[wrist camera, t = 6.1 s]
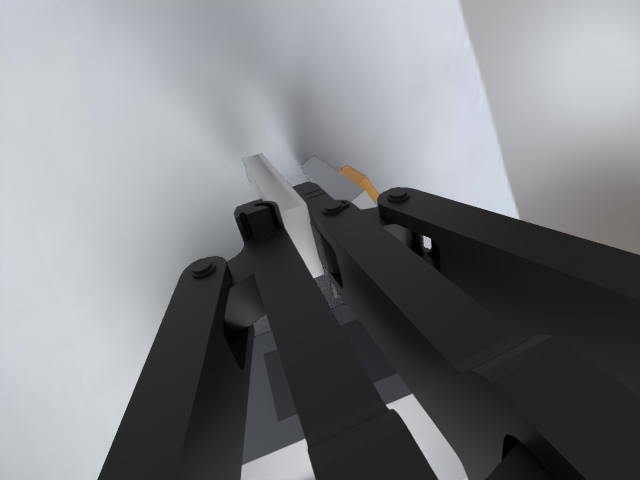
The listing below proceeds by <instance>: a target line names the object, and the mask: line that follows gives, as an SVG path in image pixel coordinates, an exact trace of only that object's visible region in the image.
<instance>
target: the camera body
mask: <svg viewBox="0 0 640 480" xmlns="http://www.w3.org/2000/svg"><path fill="white" fill-rule="evenodd" d="M331 310H332V312H333V313H334V315H335V317H336V319H337V320H338V322H339V324H340V326H341V327H342V329H343V331H344V333H345V335H346V336H347V338H348V340H349V342H350V343H351V345H352V347H353V349H354V350H355V352H356V354H357V356H358V357H359V359H360V361H361V363H362V365H363V366H364V368H365V370H366V372H367V373H368V375H369V377H370V379H371V380H372V382H373V384H374V386H375V387H376V389H377V391H378V393H379V394H380V396H381V398H382V400H383V401H384V403H385V405H386V406H387V407H388V408H389V409H394V410H395V411H396V412H397V413H398V414H399V415H400V416H401V418H402V419H403V421H404V423H405V424H406V426H407V427H408V429H409V431H410V432H411V434H412V436H413V437H414V439H415V441H416V442H417V444H418V446H419V447H420V449H421V451H422V452H423V454H424V456H425V458H426V459H427V461H428V463H429V464H430V466H431V468H432V469H433V471H434V473H435V474H436V476H437V478H438V479H439V480H463V479H465V478H467V475H466V472H465V470H464V467H463V465H462V463H461V461H460V459H459V458H458V456H457V455H456V453H455V452H454V450H453V449H452V447H451V446H450V445H449V443H448V442H447V441H446V439H445V438H444V436H443V435H442V434H441V432H440V431H439V430H438V428H437V427H436V425H435V424H434V423H433V421H432V420H431V419H430V417H429V416H428V414H427V413H426V412H425V410H424V409H423V408H422V406H421V405H420V403H419V402H418V401H417V399H416V398H415V397H414V395H413V394H412V392H411V391H410V390H409V388H408V387H407V386H406V384H405V383H404V381H403V380H402V379H401V377H400V376H399V375H398V373H397V372H396V370H395V369H394V368H393V366H392V365H391V364H390V362H389V361H388V359H387V358H386V357H385V355H384V354H383V353H382V351H381V350H380V348H379V347H378V346H377V344H376V343H375V342H374V340H373V339H372V337H371V336H370V335H369V333H368V332H367V331H366V329H365V328H364V326H363V325H362V324H361V322H360V321H359V320H358V318H357V317H356V315H355V314H354V313H353V311H352V310H351V309H350V307H349V306H348V304H345V305H342V306H339V307H336V308H334V309H331ZM307 448H308V446H307V442H306V439H305V436H304V433H303V429H302V426H301V423H300V420H299V417H298V413H297V410H296V407H295V404H294V401H293V397H292V394H291V391H290V388H289V385H288V381H287V378H286V375H285V372H284V369H283V365H282V362H281V359H280V356H279V353H278V349H277V346H276V343H275V340H274V337H273V333H272V331H270V332H267V333H264V334H261V335H259V336H256V337H254V342H253V352H252V363H251V374H250V384H249V395H248V406H247V416H246V427H245V438H244V448H243V459H242V470H241V480H316V479H315V476H314V472H313V469H312V466H311V462H310V459H309V455H308V451H307Z"/></svg>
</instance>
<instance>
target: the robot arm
mask: <svg viewBox="0 0 640 480" xmlns="http://www.w3.org/2000/svg"><path fill="white" fill-rule="evenodd" d="M242 161H243V164H244V167H245V170H246V173H247V176H248V179H249V182H250V185H251V188H252V191H253V194H254V197H255V201H252V202H249V203H247V204H244V205H241V206H238V207H237V208H236V210H235V212H234V216H235V220H236V222H237V225H238V228H239V230H240V233H241V236H242V238H243V241H244V248H243V249H242V251H241V252H240V253H239V254H238V255H237V256H236V257H234V258H233V259H231V260H230V261H228V262H226V260H225V259H224V258H222V257H218V256H212V257H206V258H203V259H199V260H197V261H195V262H193V263H192V264H191V265H190V266H188V267H187V268H186V269H185V270H184V271H183V273H182V274H181V276H180V278H179V281H178V283H177V286H176V288H175V291H174V293H173V296H172V298H171V301H170V303H169V305H168V308H167V310H166V313H165V315H164V318H163V320H162V323H161V325H160V327H159V330H158V332H157V335H156V337H155V340H154V342H153V345H152V347H151V350H150V352H149V354H148V357H147V359H146V362H145V364H144V367H143V369H142V372H141V374H140V377H139V379H138V381H137V384H136V386H135V389H134V391H133V394H132V396H131V399H130V401H129V403H128V406H127V408H126V411H125V413H124V416H123V418H122V421H121V423H120V426H119V428H118V430H117V433H116V435H115V438H114V440H113V443H112V445H111V448H110V450H109V453H108V455H107V457H106V460H105V462H104V465H103V467H102V470H101V472H100V475H99V477H98V479H97V480H241V470H242V459H243V448H244V438H245V427H246V416H247V406H248V395H249V384H250V374H251V363H252V352H253V342H254V326H253V323H254V322H255V321H257V320H258V319H260V318H261V317H263V316H264V315H265V314H267V317H268V321H269V324H270V327H271V330H272V333H273V337H274V340H275V343H276V346H277V349H278V353H279V356H280V359H281V362H282V365H283V369H284V372H285V375H286V378H287V381H288V385H289V388H290V391H291V394H292V397H293V401H294V404H295V407H296V410H297V413H298V417H299V420H300V423H301V426H302V429H303V433H304V436H305V439H306V442H307V446H308V448H307V451H308V455H309V459H310V462H311V466H312V469H313V472H314V476H315V479H316V480H439V479H438V478H437V476H436V474H435V473H434V471H433V469H432V468H431V466H430V464H429V463H428V461H427V459H426V458H425V456H424V454H423V452H422V451H421V449H420V447H419V446H418V444H417V442H416V441H415V439H414V437H413V436H412V434H411V432H410V431H409V429H408V427H407V426H406V424H405V423H404V421H403V419H402V418H401V416H400V415H399V414H398V413H397V412H396V411H395V410H394V409H389V408H388V407H387V406H386V405H385V403H384V401H383V400H382V398H381V396H380V394H379V393H378V391H377V389H376V387H375V386H374V384H373V382H372V380H371V379H370V377H369V375H368V373H367V372H366V370H365V368H364V366H363V365H362V363H361V361H360V359H359V357H358V356H357V354H356V352H355V350H354V349H353V347H352V345H351V343H350V342H349V340H348V338H347V336H346V335H345V333H344V331H343V329H342V327H341V326H340V324H339V322H338V320H337V319H336V317H335V315H334V313H333V312H332V310H331V308H330V306H329V305H328V303H327V301H326V299H325V298H324V296H323V294H322V292H321V290H320V289H319V287H318V285H317V283H316V282H315V280H314V278H316V277H318V276H321V275H323V274H324V271H323V267H322V263H323V265H324V266H325V268H326V269H327V270H328V274H329V278H330V282H331V286H332V290H333V294H334V297H335V298H338V296H337V291H338V292H339V293H340V295H341V296H342V298H343V299H344V300H345V302H346V303H347V304H348V306H349V307H350V309H351V310H352V311H353V313H354V314H355V315H356V317H357V318H358V320H359V321H360V322H361V324H362V325H363V326H364V328H365V329H366V331H367V332H368V333H369V335H370V336H371V337H372V339H373V340H374V342H375V343H376V344H377V346H378V347H379V348H380V350H381V351H382V353H383V354H384V355H385V357H386V358H387V359H388V361H389V362H390V364H391V365H392V366H393V368H394V369H395V370H396V372H397V373H398V375H399V376H400V377H401V379H402V380H403V381H404V383H405V384H406V386H407V387H408V388H409V390H410V391H411V392H412V394H413V395H414V397H415V398H416V399H417V401H418V402H419V403H420V405H421V406H422V408H423V409H424V410H425V412H426V413H427V414H428V416H429V417H430V419H431V420H432V421H433V423H434V424H435V425H436V427H437V428H438V430H439V431H440V432H441V434H442V435H443V436H444V438H445V439H446V441H447V442H448V443H449V445H450V446H451V447H452V449H453V450H454V452H455V453H456V455H457V456H458V458H459V459H460V461H461V463H462V465H463V467H464V470H465V472H466V475H467V477H468V480H640V255H637V254H634V253H631V252H627V251H624V250H621V249H617V248H614V247H610V246H607V245H604V244H600V243H596V242H593V241H590V240H586V239H583V238H579V237H576V236H573V235H569V234H566V233H562V232H559V231H556V230H552V229H549V228H546V227H542V226H539V225H535V224H532V223H529V222H525V221H522V220H518V219H515V218H511V217H508V216H505V215H501V214H498V213H494V212H491V211H488V210H484V209H481V208H477V207H474V206H471V205H467V204H464V203H460V202H457V201H453V200H450V199H447V198H443V197H440V196H436V195H433V194H430V193H426V192H423V191H419V190H416V189H412V188H400V187H396V188H392V189H389V190H387V191H385V192H383V193H382V194H380V195H379V196H378V198H377V202H378V207H373V208H368V209H360V208H358V207H357V206H356V205H355V204H353V203H352V202H350V201H348V200H334V199H333V198H332V197H331V196H330V195H329V194H328V193H326V192H325V191H324V190H323V189H322V188H321V187H320V186H319V185H318V184H316V183H312V182H305V183H302V184H299V185H297V186H294V187H291V186H290V184H289V183H288V182H287V181H286V180H285V179H284V178H283V176H282V175H281V174H280V173H279V172H278V171H277V170H276V169H275V167H274V166H273V165H272V164H271V163H270V162H269V161H268V159H267V158H266V157H265V156H264V155H263V154H262V153H260V154H257V155H254V156H251V157H248V158H244V159H242ZM423 235H424V236H426V237H429V238H430V239H431V246H432V247H431V249H428V248H425V247H424V243H423ZM321 262H322V263H321Z"/></svg>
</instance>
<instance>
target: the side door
mask: <svg viewBox="0 0 640 480" xmlns="http://www.w3.org/2000/svg"><path fill="white" fill-rule="evenodd" d="M300 168H301V169H302V171H303V172H304V173H305V174H306V176H307V177H308V178H309V180H310V181H311V182H312V183H316V184H318V185H319V186H320V187H321V188H322V189H323V190H324V191H325V192H326V193H328V194H329V195H330V196H331V197H332V198H333V199H334V200H348V201H350V202H352V203H353V204H355V205H356V206H357V207H358V208H360V209H368V208H373V207H377V206H376V205H375V202H376V201H377V198H378V196H379V194H378V192H377V191H376V189H375V188H374V187H373V185H372V184H371V182H370V181H369V179H368V178H367V177H366V176H365V175H363V174H361V173H360V172H358V171H356V170H355V169H353V168H351V167H350V166H348V165H346V166H344V167H343V168H342V169H341V170H340V171H337V170H335V169H334V168H332V167H331V166H330V165H328V164H327V163H325V162H324V161H322V160H321V159H319V158H318V157H317V156H315V155H314V156H312V157H311V158H310V159H309V160H308V161H306V162H305V163H304V164H303V165H302V166H301V167H300Z"/></svg>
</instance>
